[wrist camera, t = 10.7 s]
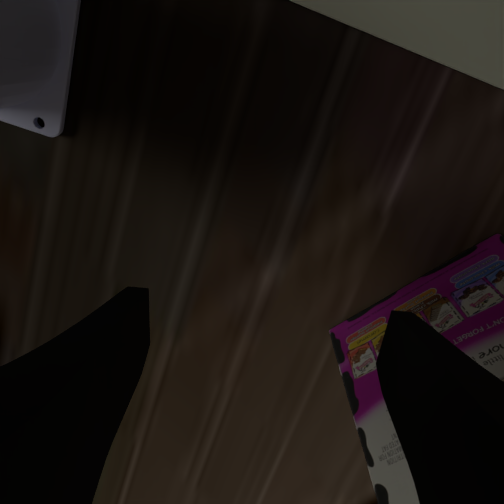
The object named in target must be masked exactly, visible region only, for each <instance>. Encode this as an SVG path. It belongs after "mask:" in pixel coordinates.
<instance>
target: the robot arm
mask: <svg viewBox="0 0 504 504" xmlns="http://www.w3.org/2000/svg"><path fill="white" fill-rule="evenodd" d="M80 4H81V0H0V121H3V122H6V123H9V124H12V125H15V126H18V127H21V128H24V129H27V130H30V131H33V132H36V133H39V134H42V135H45V136H48V137H56V136H59V135H60V134H61V133H62V132H63V129H64V123H65V115H66V108H67V100H68V93H69V85H70V78H71V71H72V63H73V56H74V48H75V41H76V33H77V26H78V19H79V11H80ZM38 117H40V118H41V119H43V121H44V123H45V126H44V127H41V126H40V125H39V124H38V122H37V119H38ZM149 346H150V327H149V288H138V287H127V288H125V289H124V290H122V291H121V292H119V293H118V294H117V295H115V296H114V297H113V298H111V299H110V300H109V301H107V302H106V303H105V304H103V305H102V306H101V307H99V308H98V309H97V310H95V311H94V312H92V313H91V314H90V315H88V316H87V317H85V318H84V319H83V320H81V321H80V322H78V323H77V324H75V325H73V326H72V327H70V328H69V329H67V330H66V331H64V332H63V333H61V334H60V335H58V336H56V337H55V338H53V339H52V340H50V341H48V342H47V343H45V344H43V345H42V346H40V347H38V348H36V349H34V350H33V351H31V352H29V353H27V354H25V355H23V356H21V357H19V358H17V359H15V360H13V361H11V362H9V363H7V364H5V365H3V366H1V367H0V504H92V501H93V498H94V495H95V492H96V489H97V485H98V482H99V479H100V476H101V473H102V470H103V467H104V463H105V460H106V457H107V455H108V452H109V450H110V447H111V444H112V442H113V439H114V437H115V435H116V433H117V430H118V428H119V426H120V423H121V421H122V419H123V416H124V414H125V412H126V409H127V407H128V405H129V402H130V400H131V398H132V395H133V393H134V391H135V388H136V386H137V384H138V381H139V379H140V376H141V374H142V371H143V367H144V364H145V360H146V357H147V353H148V349H149ZM376 368H377V373H378V378H379V382H380V387H381V391H382V395H383V398H384V401H385V403H386V406H387V409H388V412H389V415H390V417H391V420H392V423H393V425H394V428H395V431H396V433H397V436H398V439H399V441H400V444H401V447H402V449H403V452H404V455H405V458H406V460H407V463H408V466H409V469H410V472H411V475H412V478H413V481H414V484H415V488H416V492H417V495H418V499H419V503H420V504H504V382H503V381H502V380H500V379H499V378H498V377H496V376H495V375H493V374H492V373H491V372H489V371H488V370H486V369H485V368H484V367H482V366H481V365H480V364H478V363H477V362H476V361H474V360H473V359H472V358H470V357H469V356H468V355H466V354H465V353H464V352H463V351H461V350H460V349H459V348H458V347H456V346H455V345H454V344H453V343H451V342H450V341H449V340H448V339H446V338H445V337H444V336H443V335H441V334H440V333H439V332H438V331H436V330H435V329H434V328H433V327H431V326H430V325H429V324H428V323H426V322H425V321H424V320H422V319H421V318H420V317H418V316H417V315H416V314H414V313H413V312H407V311H396V310H391V313H390V317H389V320H388V323H387V327H386V330H385V334H384V337H383V340H382V344H381V347H380V350H379V354H378V357H377V361H376Z"/></svg>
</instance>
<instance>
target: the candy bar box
mask: <svg viewBox="0 0 504 504" xmlns="http://www.w3.org/2000/svg"><path fill="white" fill-rule="evenodd" d="M391 310H396V311H407V312H413V313H414V314H416V315H417V316H418V317H420V318H421V319H422V320H424V321H425V322H426V323H428V324H429V325H430V326H431V327H433V328H434V329H435V330H436V331H438V332H439V333H440V334H441V335H443V336H444V337H445V338H446V339H448V340H449V341H450V342H451V343H453V344H454V345H455V346H456V347H458V348H459V349H460V350H461V351H463V352H464V353H465V354H466V355H468V356H469V357H470V358H472V359H473V360H474V361H476V362H477V363H478V364H480V365H481V366H482V367H484V368H485V369H486V370H488V371H489V372H491V373H492V374H493V375H495V376H496V377H498V378H499V379H500V380H502V381H503V382H504V236H502V235H501V234H495V235H493V236H491V237H489V238H487V239H486V240H484V241H482V242H480V243H479V244H477V245H475V246H473V247H472V248H470V249H468V250H466V251H465V252H463V253H461V254H460V255H458V256H456V257H454V258H453V259H451V260H449V261H448V262H446V263H444V264H443V265H441V266H439V267H437V268H435V269H434V270H432V271H430V272H429V273H427V274H425V275H424V276H422V277H420V278H418V279H417V280H415V281H413V282H412V283H410V284H408V285H407V286H405V287H403V288H401V289H400V290H398V291H396V292H394V293H393V294H391V295H389V296H388V297H386V298H384V299H382V300H381V301H379V302H377V303H376V304H374V305H372V306H370V307H368V308H367V309H365V310H363V311H361V312H360V313H358V314H356V315H354V316H353V317H351V318H349V319H348V320H346V321H344V322H342V323H340V324H339V325H337V326H335V327H333V328H332V329H330V330H329V333H330V336H331V340H332V344H333V348H334V351H335V355H336V358H337V361H338V364H339V369H340V372H341V375H342V379H343V382H344V386H345V389H346V393H347V397H348V400H349V403H350V407H351V410H352V413H353V417H354V421H355V424H356V428H357V431H358V434H359V437H360V441H361V444H362V447H363V451H364V454H365V458H366V461H367V465H368V470H369V474H370V477H371V480H372V484H373V487H374V491H375V494H376V497H377V501H378V504H420V503H419V499H418V495H417V492H416V488H415V484H414V481H413V478H412V475H411V472H410V469H409V466H408V463H407V460H406V458H405V455H404V452H403V449H402V447H401V444H400V441H399V439H398V436H397V433H396V431H395V428H394V425H393V423H392V420H391V417H390V415H389V412H388V409H387V406H386V403H385V401H384V398H383V395H382V391H381V387H380V382H379V378H378V373H377V368H376V361H377V357H378V354H379V350H380V347H381V344H382V340H383V337H384V334H385V330H386V327H387V323H388V320H389V317H390V313H391Z"/></svg>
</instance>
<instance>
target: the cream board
mask: <svg viewBox="0 0 504 504" xmlns="http://www.w3.org/2000/svg"><path fill="white" fill-rule="evenodd" d="M289 1H291V2H294V3H296V4H299V5H301V6H303V7H306V8H308V9H310V10H313V11H315V12H318V13H320V14H322V15H325V16H327V17H330V18H332V19H334V20H337V21H339V22H342V23H344V24H346V25H349V26H351V27H354V28H356V29H358V30H361V31H363V32H366V33H368V34H370V35H373V36H375V37H378V38H380V39H382V40H385V41H387V42H390V43H392V44H394V45H397V46H399V47H402V48H404V49H406V50H409V51H411V52H414V53H416V54H418V55H421V56H423V57H426V58H428V59H430V60H433V61H435V62H438V63H440V64H442V65H445V66H447V67H450V68H452V69H454V70H457V71H459V72H461V73H464V74H466V75H469V76H471V77H473V78H476V79H478V80H481V81H483V82H485V83H488V84H490V85H493V86H495V87H497V88H500V89H502V90H504V0H289Z"/></svg>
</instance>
